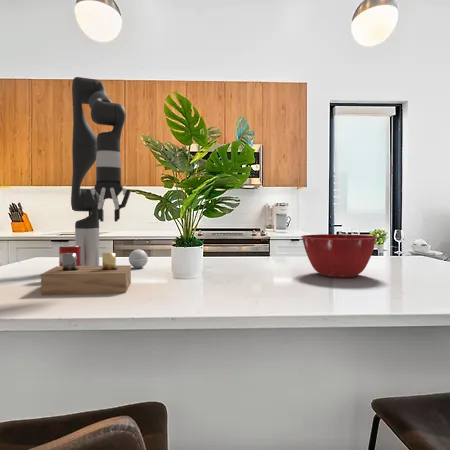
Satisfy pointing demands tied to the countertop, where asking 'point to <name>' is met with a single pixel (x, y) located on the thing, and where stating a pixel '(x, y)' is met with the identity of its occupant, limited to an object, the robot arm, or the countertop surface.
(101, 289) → the socket block
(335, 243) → the mixing bowl
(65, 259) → the graphite peg
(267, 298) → the countertop surface
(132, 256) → the bath bomb
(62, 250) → the soda can
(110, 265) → the brass peg
